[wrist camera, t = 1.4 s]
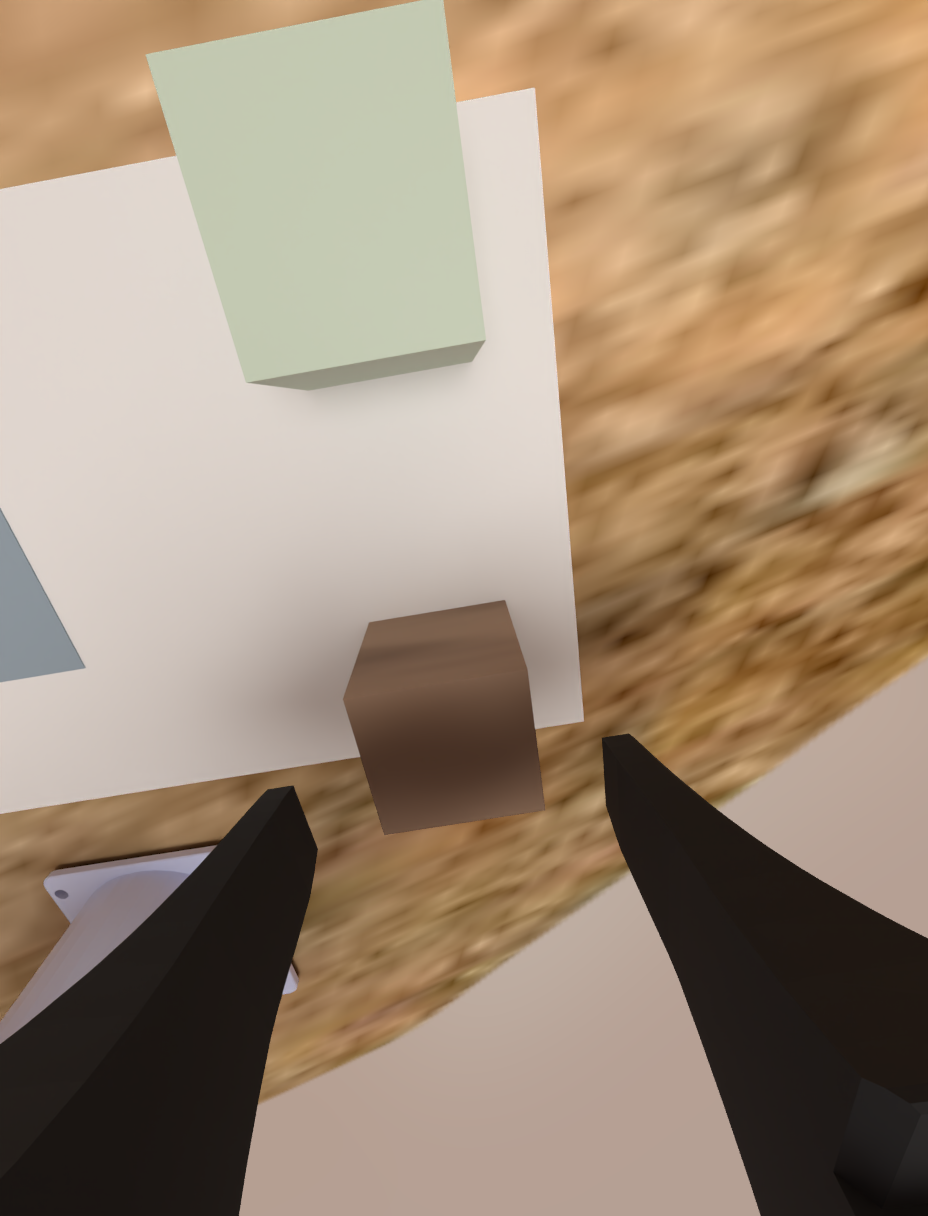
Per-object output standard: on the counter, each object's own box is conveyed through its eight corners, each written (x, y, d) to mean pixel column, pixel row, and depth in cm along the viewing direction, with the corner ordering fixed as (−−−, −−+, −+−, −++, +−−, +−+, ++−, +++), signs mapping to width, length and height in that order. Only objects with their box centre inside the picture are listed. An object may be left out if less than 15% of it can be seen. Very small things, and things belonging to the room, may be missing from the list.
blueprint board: (579, 711, 18) (584, 722, 18) (-33, 809, 19) (-49, 822, 18) (530, 102, 11) (535, 85, 11) (-423, 283, 12) (-468, 277, 11)
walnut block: (520, 714, 17) (545, 810, 13) (398, 733, 18) (384, 835, 13) (504, 600, 16) (527, 669, 12) (369, 622, 16) (342, 698, 12)
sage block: (472, 361, 13) (485, 340, 9) (308, 390, 13) (245, 382, 9) (442, 148, 11) (442, -4, 7) (254, 183, 11) (144, 53, 7)
